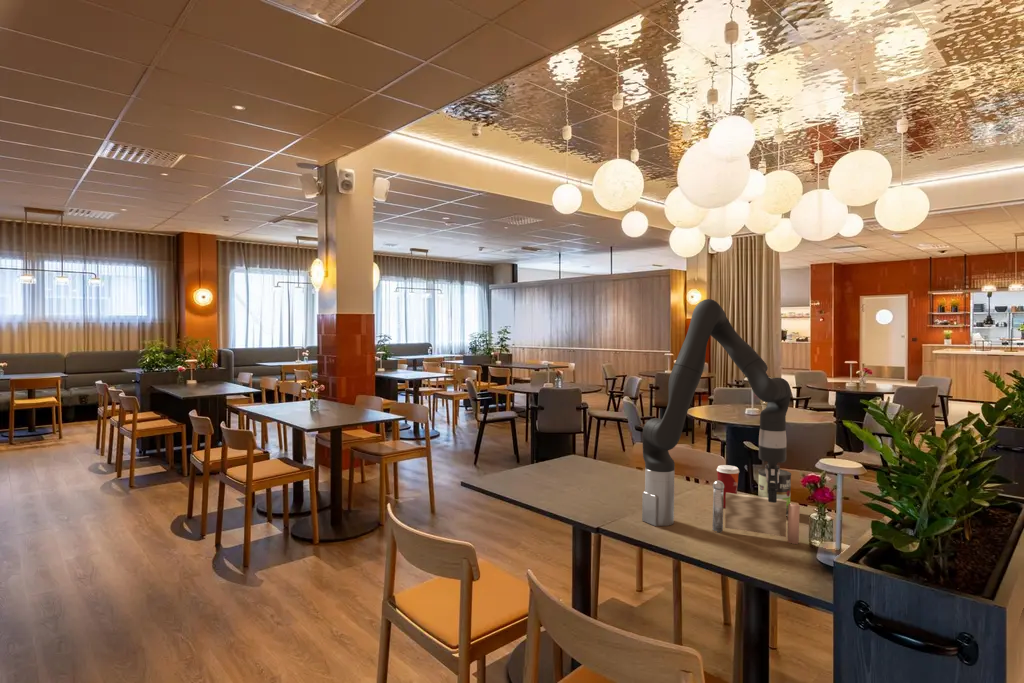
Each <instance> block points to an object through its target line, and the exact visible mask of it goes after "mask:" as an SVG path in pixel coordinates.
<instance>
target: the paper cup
mask: <svg viewBox="0 0 1024 683" xmlns="http://www.w3.org/2000/svg"><path fill="white" fill-rule="evenodd" d="M716 472H717V480H719V481H721V482H723V484H724V494H723V509H726V493H734V494H738V484H739V473H740V469H739V468H738V467H737V466H735V465H728V464H721V465H718V466H717V468H716Z"/></svg>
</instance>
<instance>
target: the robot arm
mask: <svg viewBox="0 0 1024 683" xmlns="http://www.w3.org/2000/svg"><path fill="white" fill-rule="evenodd" d="M725 312H726V311H725V310H724V308H723V307H722V306H721V304H720V303H719V302H717V301H716V300H714V299H710V298H707V299H704V300H701V301H699V303H697V304H696V306H695V307H694V309H693V311H692V315H691V318H690V322H689V325H688V329H687V331H686V332H687V333H686V335H685V339H684V341H683V342H682V345H681V348H680V349H679V352H678V355H677V358H676V359H675V361H674V365H673V367H672V370H671V372H670V375H669V378H668V386H667V387H668V402H667V405H666V406H667V407H666V409H665V412H664V414H663V417H662V418H657V417H654V418H653V417H652V418H650V419H649V420H647V421H646V422H645V423H644V426H643V428H642V438H641V440H642V457H643V461H644V464H645V466H644V467H645V468H644V471H645V473H644V474H645V475H644V491H642V501H641V502H642V504H641V506H642V508H641V509H642V510H641V511H642V512H641V513H642V514H641V515H642V516H641V519H642V520H641V521H643V522H644V523H648V524H649V525H651V526H654V527H658V526H660V527H665V526H671V525H673V524H674V523H675V522H674V521H675V466H676V464H675V461H674V459H673V458H672V457H671V455H670V453H669V451H671V450H672V449H675V447H676V446H677V445H678V443H679V441H680V440H681V436H682V433H683V430H684V426H685V421H686V418H687V414H688V412H689V409H690V406H691V404H692V401H693V397H694V395H695V393H696V390H697V389H698V386H699V383H700V381H701V378H702V375H703V372H704V369H705V364H706V356H707V355H706V353H707V347H708V346H707V345H708V343H709V340H710V337H712V338H713V339H714V340H715V341H717V342H718V344H719V345H721V347H723V349H724V350H725V351H726V353H727V354H728V356H729V358H730V359H731V361H732V362H734V364H735V365H736V366H737V368H738V369H739V370H740V371H741V373H742V374H743V375H744V376H745V377H746V379H747V382H748V383H749V385H750V387H751V389H752V391H753V393H754V395H755V396H756V397H757V398H758V399H759V400H761V401H763V402H765V403H766V406H765V408H764V409H763V410H761V412H760V415H759V433H758V434H759V435H758V459H759V460H760V461H762V462H767V464H765V465H764V468H765V473H766V482H768V486H767V488H768V501H769V502H773V503H776V502H777V489H778V487H777V483H779V474H780V469H781V468H780V465H778V463H785V462H786V461H787V432H786V430H787V428H786V425H787V424H786V422H787V421H786V418H787V417H786V416H787V412H788V409H789V406H790V402H791V397H792V396H791V395H792V392H791V391H792V390H791V385H790V384H789V382H788V381H787V380H786V379H784V378H783V377H770V376H769V375H768V373H767V372H768V364H767V363H766V362H765V361H764V359H763V358H762V357H761V356H760V355H759V354H758V352H757V351H756V350H755V349H753V347H752V346H751V345H750V344H749V343H748V342H746V340H744V339H743V338H742V337H741V335H739V334H738V333H737V331H736V330H735V329H734V327H733V326H732V324H731V321H729V318H728V317H727V314H726V313H725Z"/></svg>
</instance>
